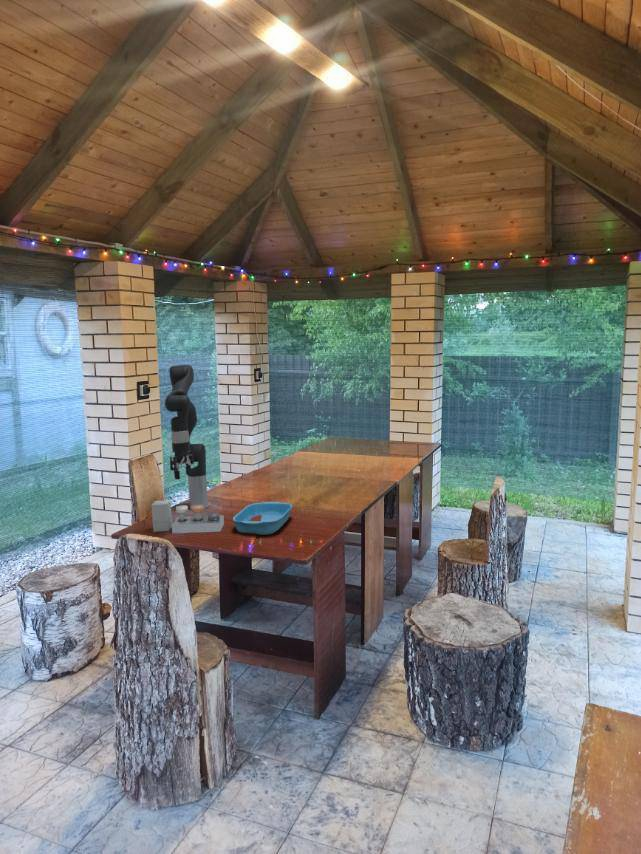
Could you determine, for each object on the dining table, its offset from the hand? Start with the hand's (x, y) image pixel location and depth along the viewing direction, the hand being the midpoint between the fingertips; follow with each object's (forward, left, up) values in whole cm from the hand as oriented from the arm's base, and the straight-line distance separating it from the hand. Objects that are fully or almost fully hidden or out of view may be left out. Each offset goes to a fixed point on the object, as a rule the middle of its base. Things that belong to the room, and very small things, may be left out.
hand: (183, 476), depth 259 cm
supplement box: (-6, -12, -25) cm, 29 cm away
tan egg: (-2, +5, -20) cm, 21 cm away
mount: (-2, +5, -25) cm, 26 cm away
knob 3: (-2, +12, -24) cm, 27 cm away
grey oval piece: (-2, -2, -20) cm, 20 cm away
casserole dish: (-6, +34, -26) cm, 43 cm away
